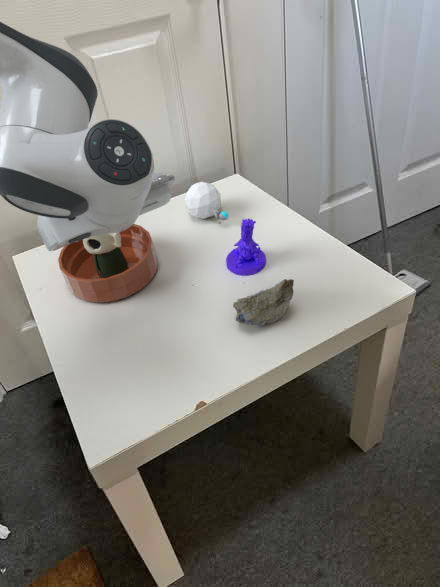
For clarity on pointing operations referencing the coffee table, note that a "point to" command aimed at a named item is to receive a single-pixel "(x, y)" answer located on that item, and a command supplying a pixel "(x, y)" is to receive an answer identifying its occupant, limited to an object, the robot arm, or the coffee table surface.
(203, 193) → the faceted white ball
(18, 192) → the robot arm
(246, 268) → the figurine
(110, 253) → the character mug
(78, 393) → the coffee table surface
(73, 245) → the bowl
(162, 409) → the coffee table surface
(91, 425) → the coffee table surface
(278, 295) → the rock
